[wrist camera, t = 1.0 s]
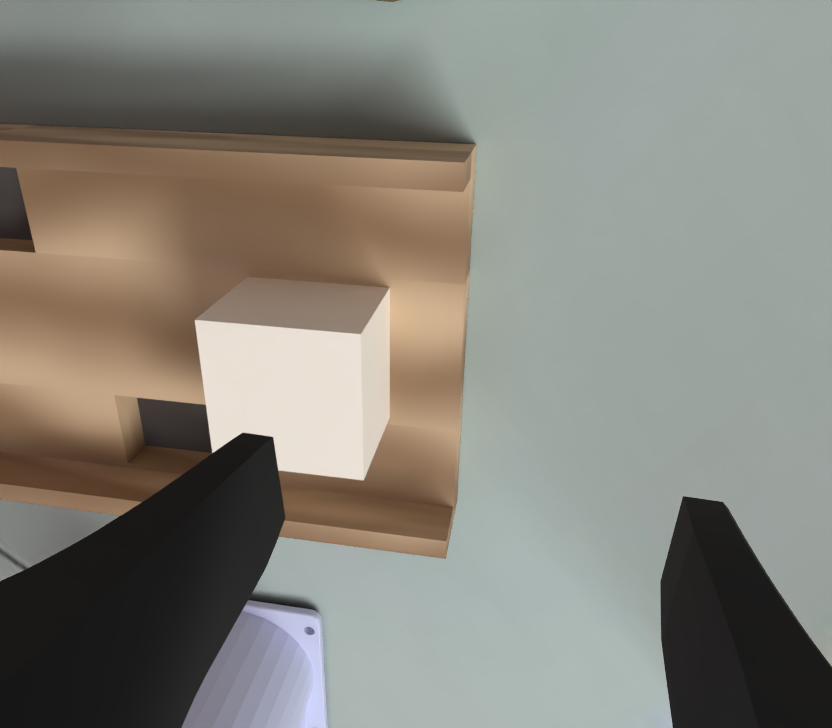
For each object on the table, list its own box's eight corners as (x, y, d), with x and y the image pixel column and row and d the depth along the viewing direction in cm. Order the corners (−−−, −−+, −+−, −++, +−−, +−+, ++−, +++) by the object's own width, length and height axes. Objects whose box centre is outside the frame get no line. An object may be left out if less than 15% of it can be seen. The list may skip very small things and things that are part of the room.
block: (389, 417, 25) (363, 480, 21) (259, 403, 26) (213, 462, 22) (389, 287, 23) (361, 334, 19) (247, 276, 24) (194, 319, 20)
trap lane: (456, 500, 28) (444, 564, 25) (-156, 426, 32) (-239, 472, 29) (476, 144, 22) (463, 164, 18) (-284, 110, 26) (-407, 122, 23)
